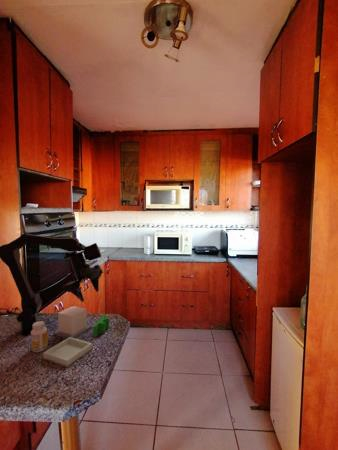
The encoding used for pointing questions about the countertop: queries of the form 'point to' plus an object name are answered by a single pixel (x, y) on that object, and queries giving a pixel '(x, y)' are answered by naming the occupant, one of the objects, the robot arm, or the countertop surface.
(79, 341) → the tray
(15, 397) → the countertop surface
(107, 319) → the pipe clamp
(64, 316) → the plain beige box
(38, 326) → the supplement bottle
